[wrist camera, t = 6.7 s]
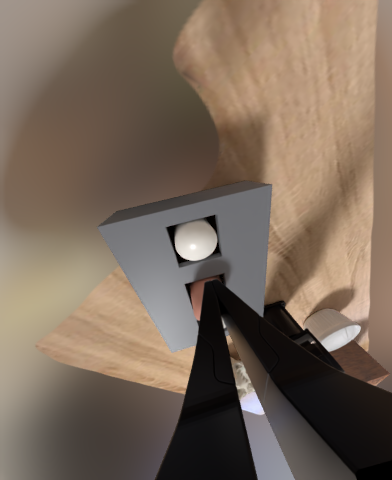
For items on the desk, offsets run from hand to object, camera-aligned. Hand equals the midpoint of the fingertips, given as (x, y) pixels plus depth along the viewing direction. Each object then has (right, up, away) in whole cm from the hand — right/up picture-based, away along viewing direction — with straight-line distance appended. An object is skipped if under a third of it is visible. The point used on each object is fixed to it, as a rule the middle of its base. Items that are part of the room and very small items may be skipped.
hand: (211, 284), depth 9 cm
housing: (0, -2, +13) cm, 13 cm away
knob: (-2, +5, +9) cm, 10 cm away
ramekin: (+32, -18, +28) cm, 47 cm away
